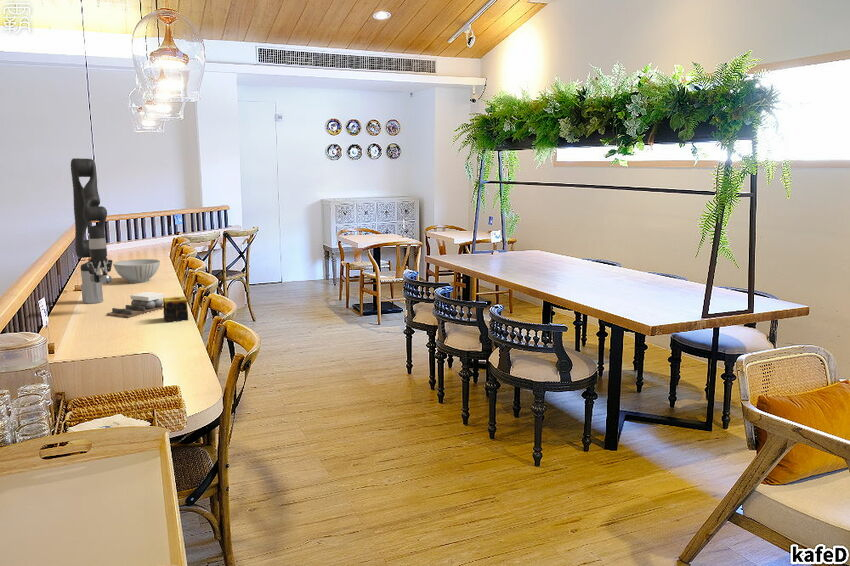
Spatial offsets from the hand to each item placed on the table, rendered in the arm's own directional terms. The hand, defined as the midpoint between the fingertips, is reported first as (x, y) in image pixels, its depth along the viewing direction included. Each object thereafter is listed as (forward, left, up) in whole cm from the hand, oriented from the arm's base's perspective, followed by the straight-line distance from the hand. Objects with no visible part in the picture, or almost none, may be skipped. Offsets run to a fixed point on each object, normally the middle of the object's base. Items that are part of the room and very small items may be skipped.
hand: (101, 281), depth 322 cm
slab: (+16, +13, -10) cm, 23 cm away
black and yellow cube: (+46, +1, -15) cm, 49 cm away
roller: (0, 0, -1) cm, 1 cm away
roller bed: (+16, +6, -15) cm, 23 cm away
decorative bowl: (-52, +70, -15) cm, 88 cm away
